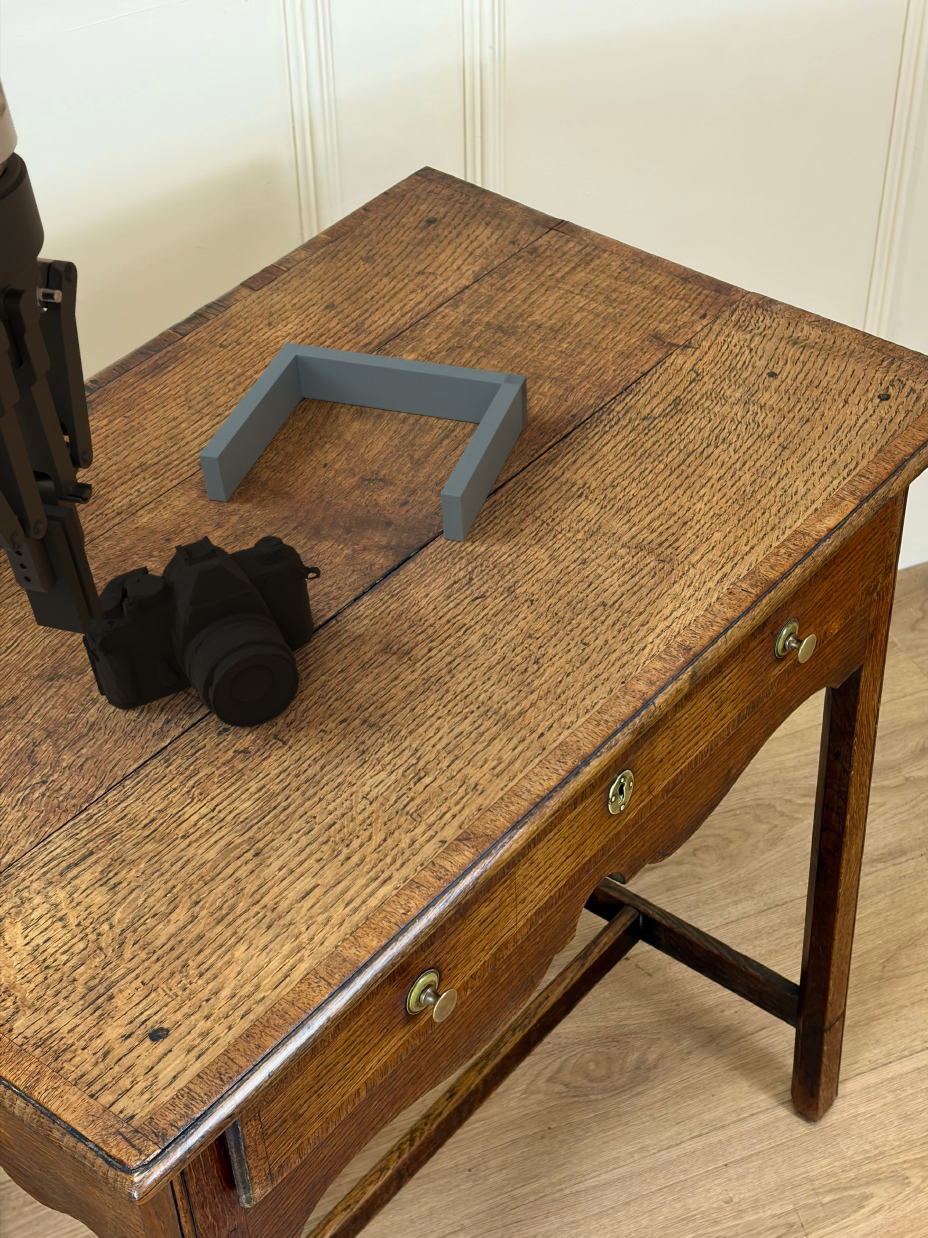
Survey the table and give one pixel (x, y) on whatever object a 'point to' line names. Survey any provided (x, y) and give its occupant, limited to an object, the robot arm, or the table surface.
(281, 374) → the u-shaped bracket
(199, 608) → the film camera
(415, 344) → the table surface
